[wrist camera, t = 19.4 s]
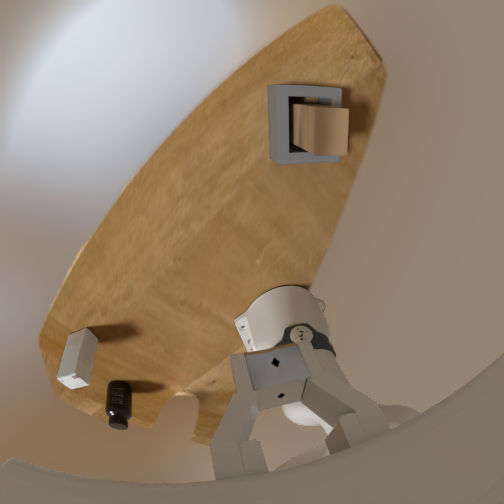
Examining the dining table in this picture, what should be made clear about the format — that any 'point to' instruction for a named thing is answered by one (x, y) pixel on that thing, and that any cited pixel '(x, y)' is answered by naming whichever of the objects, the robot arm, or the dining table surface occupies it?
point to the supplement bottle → (119, 404)
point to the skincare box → (78, 359)
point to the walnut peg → (319, 128)
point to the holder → (280, 121)
